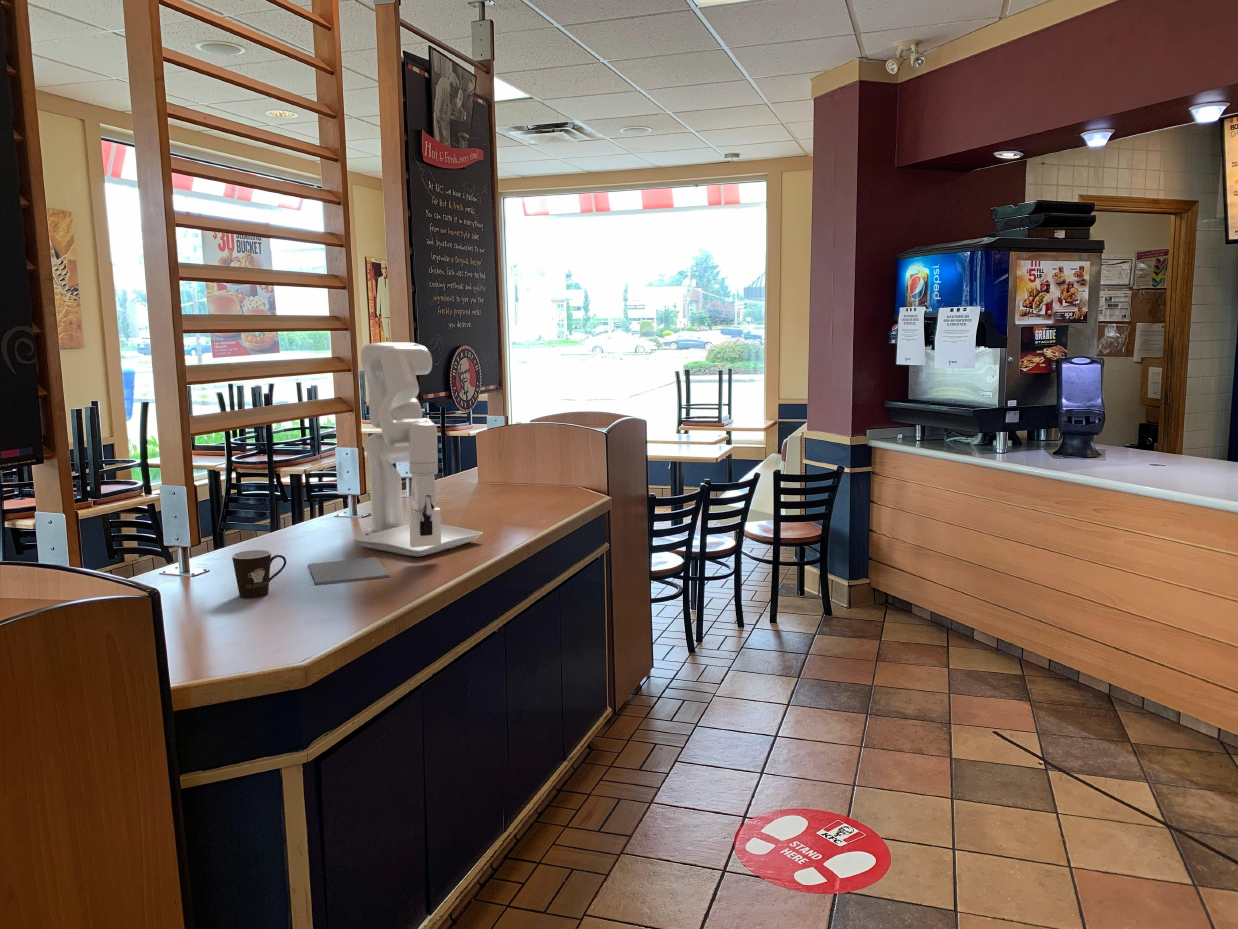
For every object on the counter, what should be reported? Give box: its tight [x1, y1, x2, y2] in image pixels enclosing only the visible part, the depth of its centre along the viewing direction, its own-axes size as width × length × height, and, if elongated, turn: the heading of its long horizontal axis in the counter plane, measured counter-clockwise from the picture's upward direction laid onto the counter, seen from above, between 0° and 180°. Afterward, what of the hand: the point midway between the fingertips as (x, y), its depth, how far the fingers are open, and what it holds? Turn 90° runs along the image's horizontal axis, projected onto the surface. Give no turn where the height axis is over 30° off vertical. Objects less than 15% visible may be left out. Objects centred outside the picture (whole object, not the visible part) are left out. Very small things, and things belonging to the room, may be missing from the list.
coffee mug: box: [231, 549, 287, 600], centre depth 210 cm, size 12×9×10 cm
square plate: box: [353, 524, 484, 557], centre depth 260 cm, size 27×27×4 cm
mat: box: [307, 556, 390, 586], centre depth 231 cm, size 20×18×1 cm
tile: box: [408, 507, 442, 548], centre depth 240 cm, size 3×8×10 cm, turn 115°
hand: (424, 533), depth 240 cm, fingers closed on tile, 2 cm apart
